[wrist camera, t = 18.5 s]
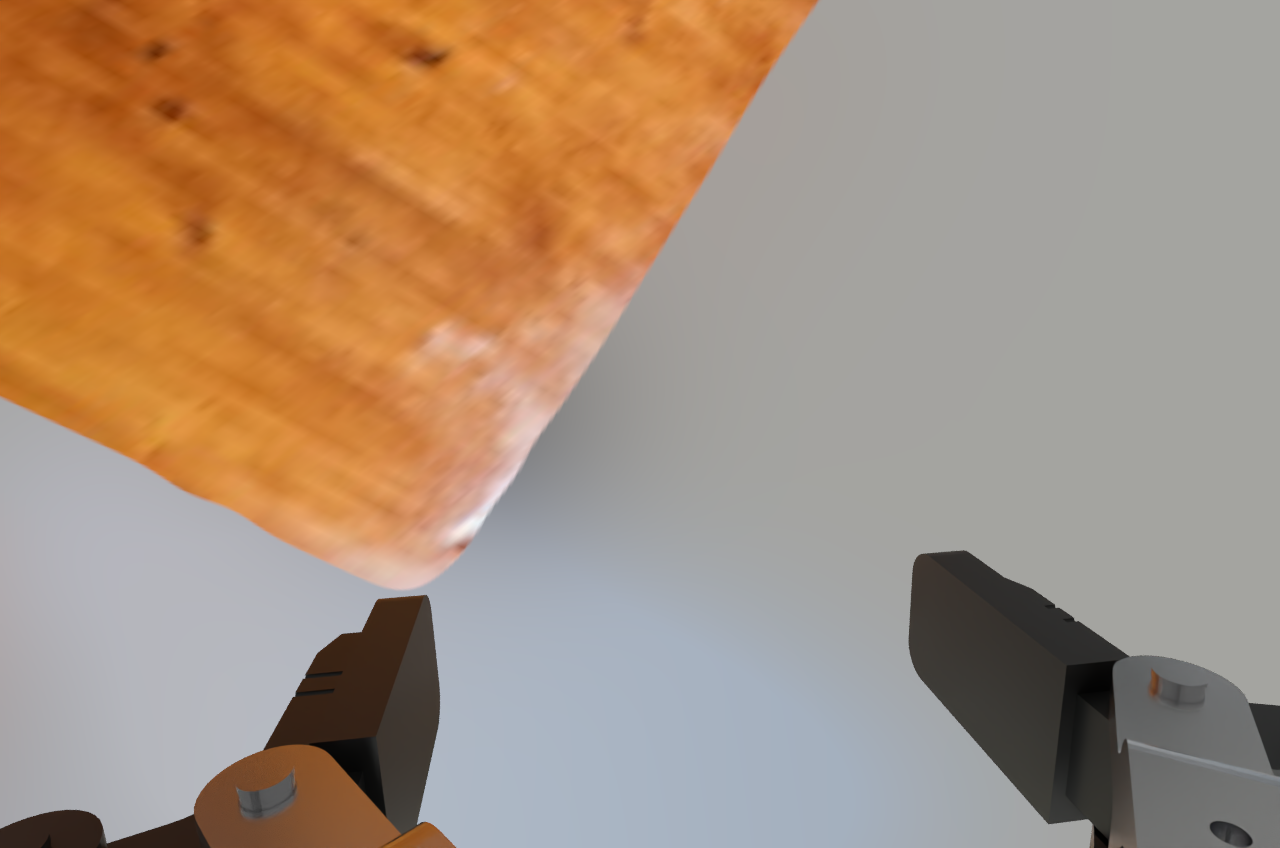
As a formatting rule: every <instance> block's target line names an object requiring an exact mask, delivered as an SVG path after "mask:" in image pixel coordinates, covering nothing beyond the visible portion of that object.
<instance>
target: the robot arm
mask: <svg viewBox="0 0 1280 848" xmlns="http://www.w3.org/2000/svg"><path fill="white" fill-rule="evenodd" d="M912 574H913V575H912V590H911V608H910V626H909V650H910V655H911V659H912V663H913V665H914V668H915V670H916V672H917V674H918V675H919V677H920V678H921V680H922V681H923V682H924V683H925V684H926V685H927V687H928V688H929V689H930V690H931V691H932V692H933V693H934V694H935V696H936V697H937V698H938V699H939V700H940V701H941V702H942V704H943V705H944V706H945V707H946V708H947V709H948V710H949V712H950V713H951V714H952V715H953V716H954V717H955V718H956V720H957V721H958V722H959V723H960V724H961V725H962V726H963V727H964V729H965V730H966V731H967V732H968V733H969V734H970V735H971V737H972V738H973V739H974V740H975V741H976V742H977V743H978V745H979V746H980V747H981V748H982V749H983V750H984V751H985V752H986V754H987V755H988V756H989V757H990V758H991V759H992V760H993V762H994V763H995V764H996V765H997V766H998V767H999V768H1000V770H1001V771H1002V772H1003V773H1004V774H1005V775H1006V776H1007V777H1008V779H1009V780H1010V781H1011V782H1012V783H1013V784H1014V785H1015V787H1016V788H1017V789H1018V790H1019V791H1020V792H1021V793H1022V795H1023V796H1024V797H1025V798H1026V799H1027V800H1028V801H1029V803H1030V804H1031V805H1032V806H1033V807H1034V808H1035V809H1036V811H1037V812H1038V813H1039V814H1040V815H1041V816H1042V817H1043V818H1044V820H1045V821H1046V822H1047V823H1048V824H1054V823H1061V822H1069V821H1077V820H1084V819H1089V820H1090V821H1091V822H1092V824H1093V825H1092V833H1091V840H1090V848H1280V706H1276V705H1265V704H1253V703H1248V701H1247V699H1246V697H1245V695H1244V694H1243V693H1242V691H1241V690H1240V689H1239V688H1238V687H1236V686H1235V685H1234V684H1233V683H1231V682H1230V681H1228V680H1227V679H1225V678H1223V677H1222V676H1220V675H1218V674H1216V673H1214V672H1212V671H1209V670H1207V669H1205V668H1202V667H1200V666H1197V665H1194V664H1191V663H1188V662H1184V661H1180V660H1176V659H1172V658H1166V657H1159V656H1131V657H1129V656H1128V655H1126V654H1125V653H1124V652H1122V651H1121V650H1119V649H1118V648H1117V647H1115V646H1114V645H1112V644H1111V643H1109V642H1108V641H1106V640H1105V639H1104V638H1102V637H1101V636H1099V635H1098V634H1096V633H1095V632H1093V631H1092V630H1091V629H1089V628H1087V627H1086V626H1085V625H1083V624H1082V623H1080V622H1079V621H1077V622H1075V621H1074V618H1073V617H1072V616H1070V615H1069V614H1068V613H1066V612H1065V611H1063V610H1062V609H1060V608H1055V604H1053V603H1052V602H1050V601H1049V600H1047V599H1046V598H1044V597H1043V596H1042V595H1040V594H1039V593H1037V592H1036V591H1034V590H1033V589H1031V588H1029V587H1026V586H1024V585H1021V584H1019V583H1016V582H1014V581H1011V580H1009V579H1007V578H1004V577H1003V576H1001V575H1000V574H999V573H997V572H996V571H994V570H993V569H991V568H990V567H988V566H987V565H986V564H984V563H983V562H982V561H980V560H979V559H977V558H976V557H975V556H973V555H972V554H970V553H969V552H967V551H964V550H963V551H951V552H939V553H927V554H921V555H919V556H918V557H917V558H916V560H915V562H914V566H913V573H912ZM439 715H440V689H439V678H438V670H437V659H436V650H435V641H434V631H433V623H432V613H431V606H430V601H429V598H428V596H427V595H421V596H409V597H397V598H385V599H378V600H377V601H376V603H375V605H374V607H373V609H372V611H371V613H370V616H369V618H368V620H367V622H366V624H365V626H364V628H363V630H362V632H359V633H347V634H341V635H340V636H339V637H338V638H336V639H335V640H334V641H332V642H331V643H330V644H329V645H327V646H326V647H325V648H323V649H322V650H321V651H320V652H318V653H317V655H316V657H315V659H314V660H313V662H312V664H311V666H310V668H309V669H308V671H307V673H306V677H305V679H303V680H302V682H301V683H300V685H299V687H298V689H297V691H296V695H295V697H293V698H292V700H291V701H290V703H289V705H288V707H287V709H286V710H285V712H284V714H283V716H282V718H281V719H280V721H279V723H278V725H277V726H276V728H275V730H274V732H273V734H272V736H271V737H270V739H269V741H268V743H267V744H266V746H265V748H264V750H263V751H260V752H257V753H255V754H252V755H250V756H248V757H245V758H243V759H241V760H239V761H237V762H235V763H234V764H232V765H231V766H229V767H227V768H226V769H224V770H223V771H222V772H220V773H219V774H218V775H217V776H215V777H214V778H213V779H212V780H211V781H210V782H209V783H208V784H207V785H206V786H205V788H204V789H203V790H202V791H201V793H200V795H199V796H198V798H197V800H196V803H195V806H194V814H193V815H191V816H188V817H186V818H184V819H181V820H179V821H176V822H173V823H170V824H168V825H164V826H161V827H158V828H155V829H152V830H148V831H145V832H143V833H139V834H136V835H133V836H129V837H126V838H123V839H120V840H117V841H114V842H111V843H106V838H105V834H104V830H103V826H102V824H101V821H100V819H99V818H97V817H96V816H95V815H93V814H91V813H89V812H85V811H80V810H62V811H54V812H49V813H44V814H40V815H36V816H33V817H30V818H26V819H23V820H21V821H18V822H15V823H12V824H10V825H8V826H6V827H4V828H1V829H0V848H456V847H455V846H454V845H453V844H452V843H451V842H450V841H449V840H448V839H447V838H446V837H445V836H444V835H443V833H442V832H440V831H439V830H438V829H437V828H436V827H435V826H434V825H432V824H430V823H428V822H421V823H420V824H418V825H417V821H418V816H419V812H420V807H421V803H422V798H423V793H424V789H425V785H426V780H427V776H428V771H429V766H430V762H431V757H432V753H433V748H434V744H435V739H436V734H437V730H438V724H439Z"/></svg>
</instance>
